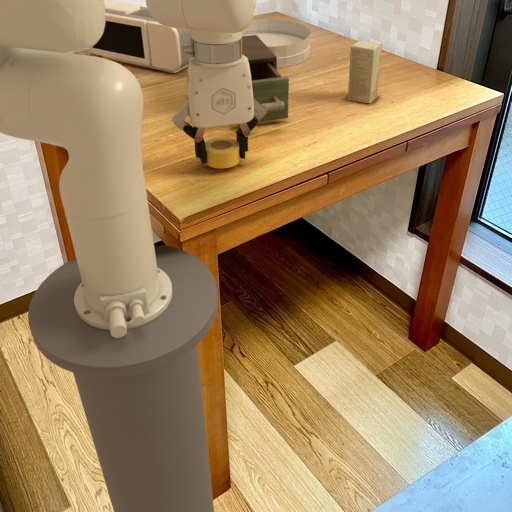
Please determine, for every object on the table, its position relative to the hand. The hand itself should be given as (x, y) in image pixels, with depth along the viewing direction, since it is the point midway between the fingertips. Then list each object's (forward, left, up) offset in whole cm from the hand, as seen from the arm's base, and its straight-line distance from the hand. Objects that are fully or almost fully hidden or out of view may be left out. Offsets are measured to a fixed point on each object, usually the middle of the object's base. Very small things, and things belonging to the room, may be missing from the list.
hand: (221, 157), depth 100 cm
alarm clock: (+56, +6, -2) cm, 56 cm away
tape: (0, 0, -1) cm, 1 cm away
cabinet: (+30, -10, -2) cm, 31 cm away
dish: (+53, -23, -2) cm, 57 cm away
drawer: (+18, -10, -1) cm, 20 cm away
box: (+20, -34, -2) cm, 40 cm away
